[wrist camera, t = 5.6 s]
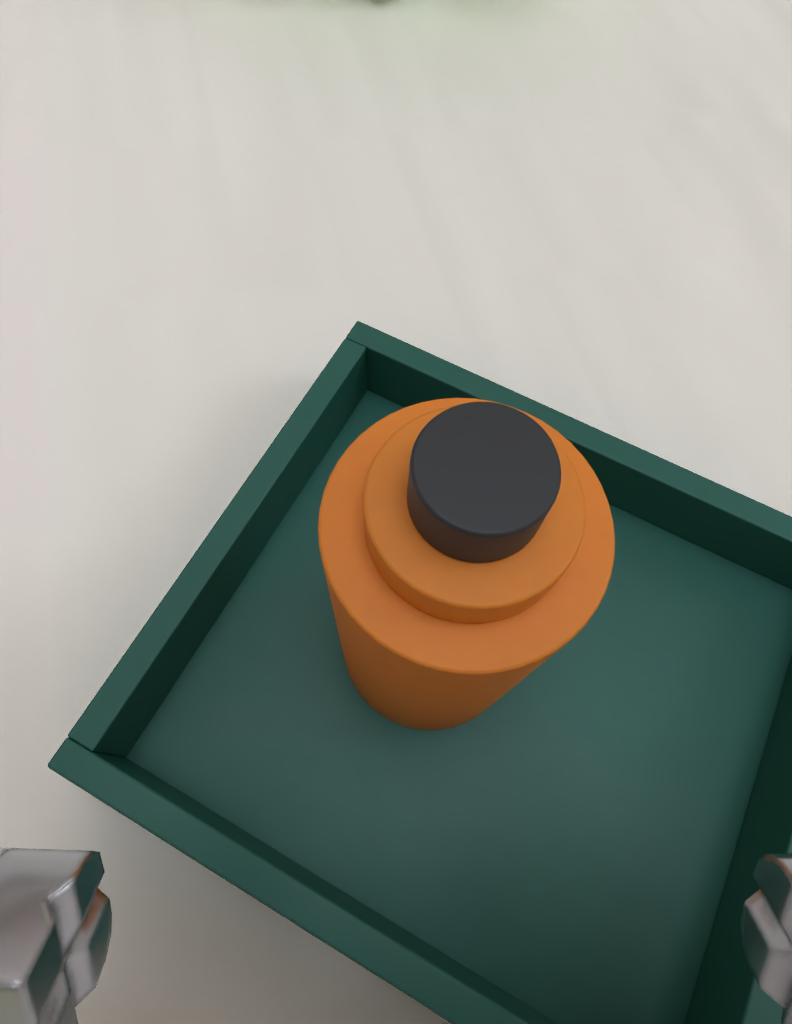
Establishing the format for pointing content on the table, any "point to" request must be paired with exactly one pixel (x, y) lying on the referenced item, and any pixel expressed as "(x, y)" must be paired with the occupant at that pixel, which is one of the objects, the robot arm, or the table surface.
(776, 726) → the tray
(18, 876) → the robot arm
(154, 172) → the table surface
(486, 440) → the glue bottle
